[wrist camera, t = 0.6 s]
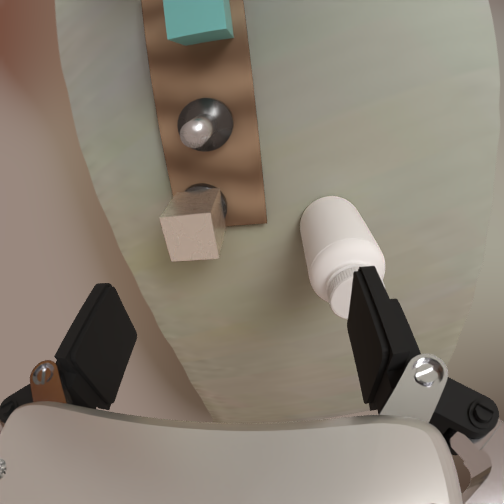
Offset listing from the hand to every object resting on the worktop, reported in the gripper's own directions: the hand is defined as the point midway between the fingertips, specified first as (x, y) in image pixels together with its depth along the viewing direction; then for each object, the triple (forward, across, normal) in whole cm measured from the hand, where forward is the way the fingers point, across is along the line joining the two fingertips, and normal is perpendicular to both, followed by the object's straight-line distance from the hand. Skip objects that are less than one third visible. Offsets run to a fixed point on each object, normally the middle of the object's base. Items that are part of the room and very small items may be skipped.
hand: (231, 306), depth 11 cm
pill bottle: (+26, -9, +11) cm, 30 cm away
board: (+26, +5, -5) cm, 27 cm away
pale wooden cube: (+26, +7, +7) cm, 28 cm away
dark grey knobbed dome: (+26, +5, -3) cm, 27 cm away
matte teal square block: (+25, +3, -15) cm, 30 cm away
